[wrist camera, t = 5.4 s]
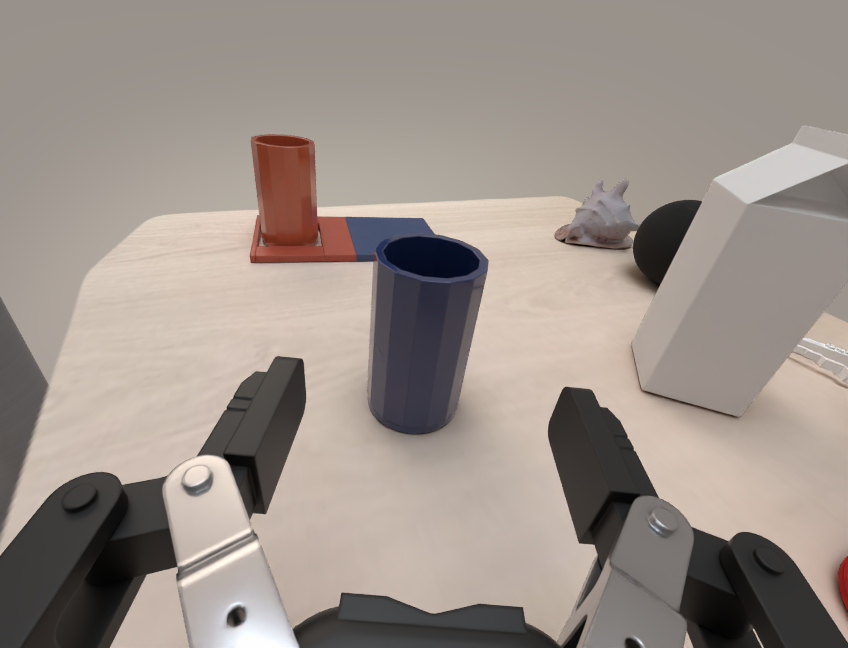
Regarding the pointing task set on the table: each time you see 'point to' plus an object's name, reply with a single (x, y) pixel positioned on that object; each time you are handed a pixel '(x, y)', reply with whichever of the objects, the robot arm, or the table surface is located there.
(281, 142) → the red cup
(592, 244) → the seashell
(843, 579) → the tracker holder
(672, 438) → the table surface
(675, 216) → the speaker
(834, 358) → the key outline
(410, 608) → the robot arm
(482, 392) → the table surface
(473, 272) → the blue cup
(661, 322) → the milk carton
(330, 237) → the sorting board
